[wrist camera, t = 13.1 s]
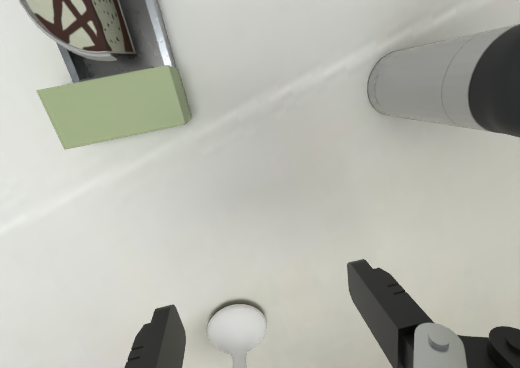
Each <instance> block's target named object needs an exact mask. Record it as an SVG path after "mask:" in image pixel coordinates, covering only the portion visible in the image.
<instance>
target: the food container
mask: <svg viewBox="0 0 520 368" xmlns="http://www.w3.org/2000/svg"><path fill="white" fill-rule="evenodd" d="M19 2H20V3H21V5H22V6H23V8H24V9H25V11H26V12H27V14H28V15H29V17H30V18H31V19H32V20H33V22H34V23H35V24H36V25H37V26H38V27H39V28H40V29H41V30H42V31H43V32H44V33H45V34H46V35H47V36H49V37H50V38H51V39H53V40H54V41H56V42H57V43H58V44H60V45H61V46H63V47H64V48H66V49H67V50H69V51H71V52H73V53H75V54H77V55H80V56H82V57H85V58H88V59H93V60H97V61H117V59H116V58H115V57H113V56H112V55H111V54H120V55H132V54H136V52H135V49H134V46H133V42H132V39H131V36H130V33H129V30H128V27H127V23H126V20H125V17H124V14H123V11H122V8H121V5H120V1H119V0H19Z"/></svg>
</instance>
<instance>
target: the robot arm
mask: <svg viewBox="0 0 520 368" xmlns="http://www.w3.org/2000/svg"><path fill="white" fill-rule="evenodd" d="M368 95H369V99H370V102H371V104H372V105H373V107H374V108H375V109H376V110H377V111H378V112H380V113H382V114H385V115H389V116H396V117H402V118H407V119H414V120H420V121H426V122H433V123H439V124H446V125H452V126H458V127H465V128H472V129H478V130H484V131H491V132H496V133H503V134H508V135H512V136H516V137H520V24H517V25H513V26H508V27H504V28H499V29H494V30H490V31H486V32H481V33H477V34H472V35H468V36H463V37H458V38H454V39H449V40H445V41H440V42H435V43H431V44H426V45H422V46H417V47H412V48H408V49H403V50H399V51H394V52H392V53H390V54H387V55H386V56H385V57H383V58H382V59H381V60H380V61H379V62H378V63H377V64H376V66H375V67H374V69H373V71H372V73H371V75H370V79H369V83H368ZM347 271H348V284H349V292H350V295H351V298H352V300H353V302H354V304H355V306H356V307H357V309H358V311H359V312H360V314H361V316H362V317H363V319H364V320H365V322H366V324H367V325H368V327H369V329H370V330H371V332H372V334H373V335H374V337H375V339H376V340H377V342H378V343H379V345H380V347H381V348H382V350H383V352H384V353H385V355H386V357H387V358H388V360H389V362H390V363H391V365H392V367H393V368H520V330H519V329H516V328H512V327H505V326H501V327H496V328H494V329H492V330H491V331H490V333H489V338H486V337H470V336H460V335H457V334H455V333H454V332H453V331H452V330H450V329H449V328H447V327H445V326H443V325H440V324H436V323H434V322H433V321H432V320H431V319H430V318H429V317H428V316H427V314H426V313H425V312H424V311H423V310H422V309H421V308H420V307H419V306H418V304H417V303H416V302H415V301H414V300H413V299H412V298H411V297H410V296H409V294H408V293H407V292H405V290H404V289H403V288H402V287H401V286H400V285H399V284H398V282H397V281H396V280H395V279H394V278H393V277H392V276H391V274H389V273H387V272H386V271H384V270H382V269H380V268H376V269H373V268H372V267H371V266H370V265H369V264H368V262H367V261H366V260H364V259H362V260H358V261H353V262H349V263H348V264H347ZM185 344H186V336H185V330H184V327H183V324H182V322H181V319H180V317H179V314H178V312H177V309H176V307H175V305H169V306H165V307H161V308H157V309H155V311H154V314H153V317H152V320H151V323H148V324H144V326H143V327H142V329H141V330H140V331H139V333H138V334H137V335H136V337H135V340H134V343H133V346H132V348H131V349H132V351H130V354H129V357H128V362H127V363H126V365H125V368H182V365H183V358H184V351H185Z"/></svg>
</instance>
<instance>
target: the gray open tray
mask: <svg viewBox="0 0 520 368" xmlns="http://www.w3.org/2000/svg"><path fill="white" fill-rule="evenodd" d="M119 1H120V5H121V8H122V11H123V14H124V17H125V20H126V23H127V27H128V30H129V33H130V36H131V39H132V42H133V46H134V49H135V52H136V54H132V55H120V54H111V55H112V56H113V57H115V58H116V59H117V61H97V60H93V59H88V58H85V57H82V56H80V55H77V54H75V53H73V52H71V51H69V50H67V49H66V48H64V47H63V46H61V45H60V44H58V43H57V42H56V43H57V45H58V48H59V50H60V52H61V55H62V57H63V59H64V62H65V64H66V67H67V69H68V71H69V74H70V76H71V78H72V81H73V83H77V82H79V80H83V79H88V78H93V77H98V76H103V75H108V74H113V73H119V72H124V71H129V70H134V69H139V68H144V67H149V66H152V67H159V66H165V65H170V66H172V67H174V68H176V65H175V62H174V58H173V54H172V51H171V47H170V44H169V40H168V37H167V33H166V29H165V26H164V22H163V19H162V15H161V12H160V8H159V5H158V1H157V0H119Z"/></svg>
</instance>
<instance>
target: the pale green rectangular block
mask: <svg viewBox="0 0 520 368" xmlns="http://www.w3.org/2000/svg"><path fill="white" fill-rule="evenodd" d="M36 91H37V93H38V95H39V97H40V99H41V101H42V103H43V105H44V108H45V110H46V112H47V114H48V116H49V118H50V120H51V122H52V124H53V126H54V129H55V131H56V133H57V135H58V137H59V139H60V141H61V143H62V145H63V147H64V150H65V149H70V148H75V147H80V146H84V145H89V144H94V143H99V142H103V141H108V140H113V139H118V138H122V137H127V136H132V135H137V134H141V133H146V132H151V131H156V130H161V129H165V128H170V127H175V126H180V125H184V124H186V123H187V122H188V121H189V120H190V119H191V118H192V117H191V113H190V110H189V106H188V102H187V99H186V95H185V92H184V88H183V85H182V81H181V77H180V74H179V70H178V69H176V68H174V67H172V66H170V65H165V66H159V67H152V66H149V67H144V68H139V69H134V70H129V71H124V72H119V73H113V74H108V75H103V76H98V77H93V78H88V79H83V80H79V82H77V83H72V84H67V85H62V86H57V87H52V88H47V89H42V90H36Z"/></svg>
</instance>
